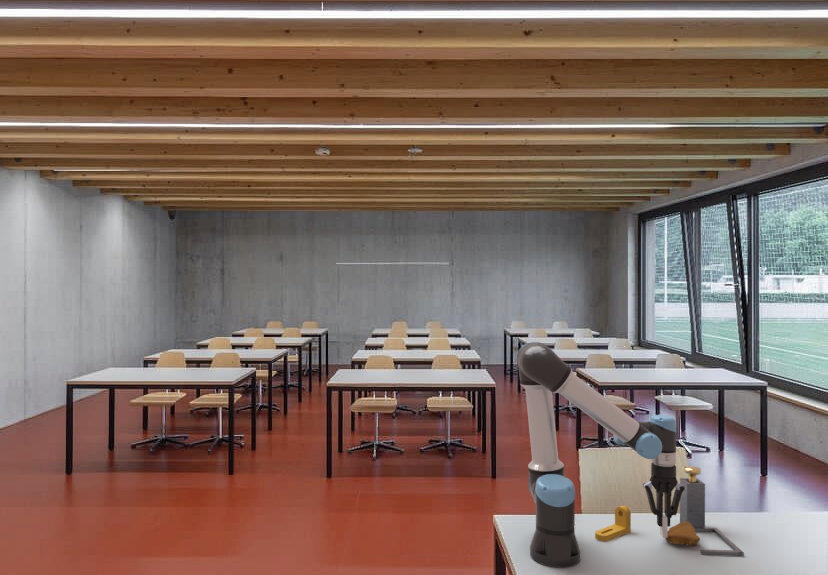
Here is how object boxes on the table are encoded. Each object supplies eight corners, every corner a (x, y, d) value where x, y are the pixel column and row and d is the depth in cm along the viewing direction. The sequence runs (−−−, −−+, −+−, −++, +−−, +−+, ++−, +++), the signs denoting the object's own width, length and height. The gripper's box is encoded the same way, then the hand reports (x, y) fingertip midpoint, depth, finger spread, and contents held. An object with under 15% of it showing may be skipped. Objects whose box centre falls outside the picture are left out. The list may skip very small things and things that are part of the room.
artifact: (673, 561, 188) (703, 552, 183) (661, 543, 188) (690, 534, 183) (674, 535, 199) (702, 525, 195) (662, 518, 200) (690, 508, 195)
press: (701, 554, 181) (702, 503, 181) (671, 523, 206) (671, 477, 206) (743, 556, 180) (743, 504, 180) (707, 524, 205) (707, 478, 205)
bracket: (619, 527, 202) (619, 503, 202) (630, 532, 198) (630, 507, 198) (592, 538, 193) (592, 513, 193) (603, 542, 189) (603, 517, 189)
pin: (687, 494, 200) (687, 470, 200) (681, 489, 205) (681, 465, 205) (703, 495, 200) (703, 470, 200) (696, 490, 205) (696, 466, 205)
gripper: (647, 466, 187) (647, 540, 186) (688, 467, 186) (688, 541, 186) (639, 459, 194) (639, 530, 194) (679, 460, 193) (679, 531, 193)
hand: (663, 535), depth 190 cm, fingers closed
